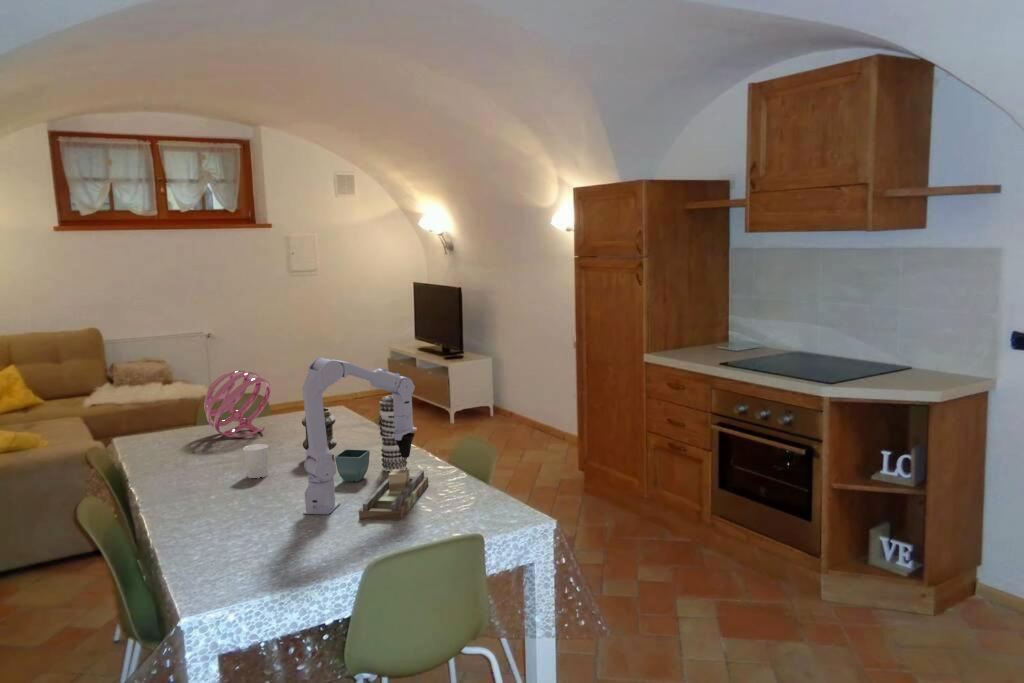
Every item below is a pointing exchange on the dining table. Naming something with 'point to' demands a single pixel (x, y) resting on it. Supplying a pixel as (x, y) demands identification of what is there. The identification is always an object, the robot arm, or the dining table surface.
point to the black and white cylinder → (389, 437)
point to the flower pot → (352, 464)
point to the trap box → (393, 500)
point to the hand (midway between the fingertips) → (405, 456)
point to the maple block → (398, 480)
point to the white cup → (256, 460)
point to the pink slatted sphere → (233, 399)
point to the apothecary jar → (329, 430)
